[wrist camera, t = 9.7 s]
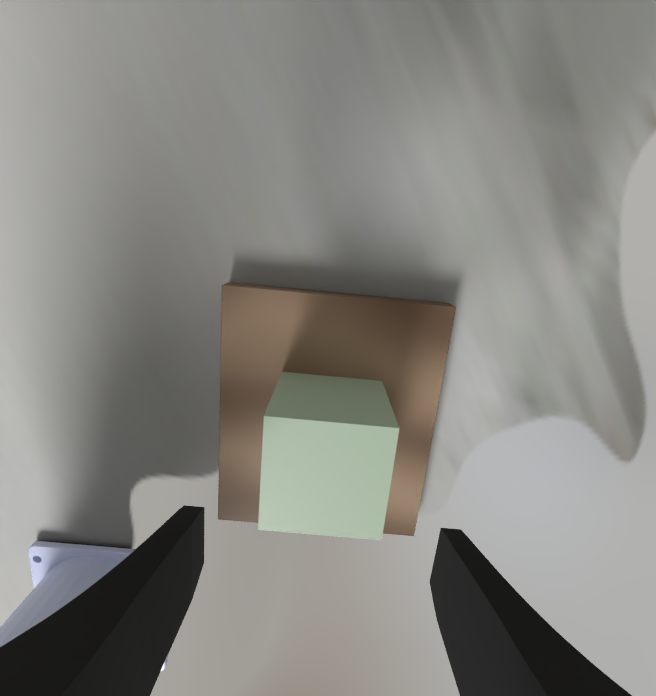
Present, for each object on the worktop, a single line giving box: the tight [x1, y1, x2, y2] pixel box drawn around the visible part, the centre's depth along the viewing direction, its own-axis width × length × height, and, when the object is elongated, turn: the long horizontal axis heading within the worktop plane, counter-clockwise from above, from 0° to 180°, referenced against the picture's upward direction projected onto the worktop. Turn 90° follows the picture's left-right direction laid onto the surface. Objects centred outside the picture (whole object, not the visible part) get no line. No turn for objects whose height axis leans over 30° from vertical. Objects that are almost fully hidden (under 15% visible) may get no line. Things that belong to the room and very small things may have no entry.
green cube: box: [258, 372, 399, 540], centre depth 17 cm, size 5×5×5 cm
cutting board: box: [218, 283, 456, 536], centre depth 20 cm, size 13×11×1 cm
